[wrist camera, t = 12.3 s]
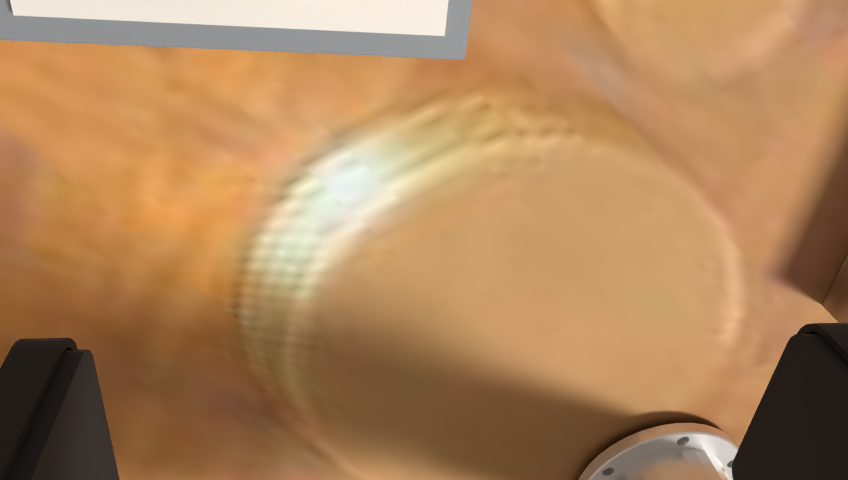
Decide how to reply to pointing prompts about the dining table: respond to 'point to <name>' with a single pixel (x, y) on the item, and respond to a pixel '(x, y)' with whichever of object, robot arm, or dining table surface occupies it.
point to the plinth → (249, 25)
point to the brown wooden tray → (839, 295)
